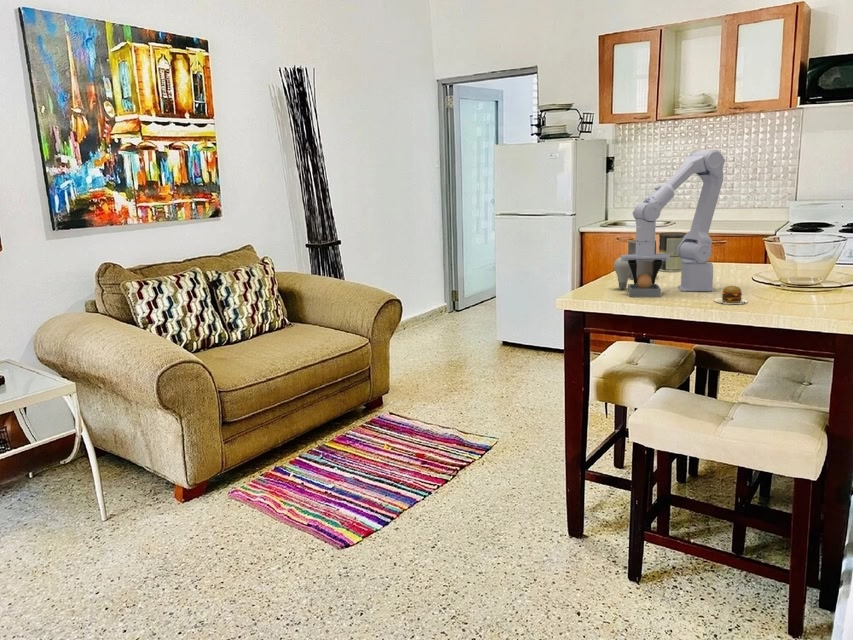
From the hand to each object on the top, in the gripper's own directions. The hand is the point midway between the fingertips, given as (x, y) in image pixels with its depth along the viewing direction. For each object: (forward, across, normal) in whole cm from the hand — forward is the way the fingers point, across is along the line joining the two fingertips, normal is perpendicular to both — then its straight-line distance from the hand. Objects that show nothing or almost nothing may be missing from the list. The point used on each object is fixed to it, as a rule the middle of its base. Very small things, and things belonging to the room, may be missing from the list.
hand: (644, 283), depth 211 cm
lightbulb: (+4, -6, +8) cm, 11 cm away
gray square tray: (+3, 0, 0) cm, 3 cm away
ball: (+2, 0, 0) cm, 2 cm away
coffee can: (+4, +15, +50) cm, 52 cm away
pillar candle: (+4, +2, +32) cm, 32 cm away
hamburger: (+4, +23, -12) cm, 27 cm away
